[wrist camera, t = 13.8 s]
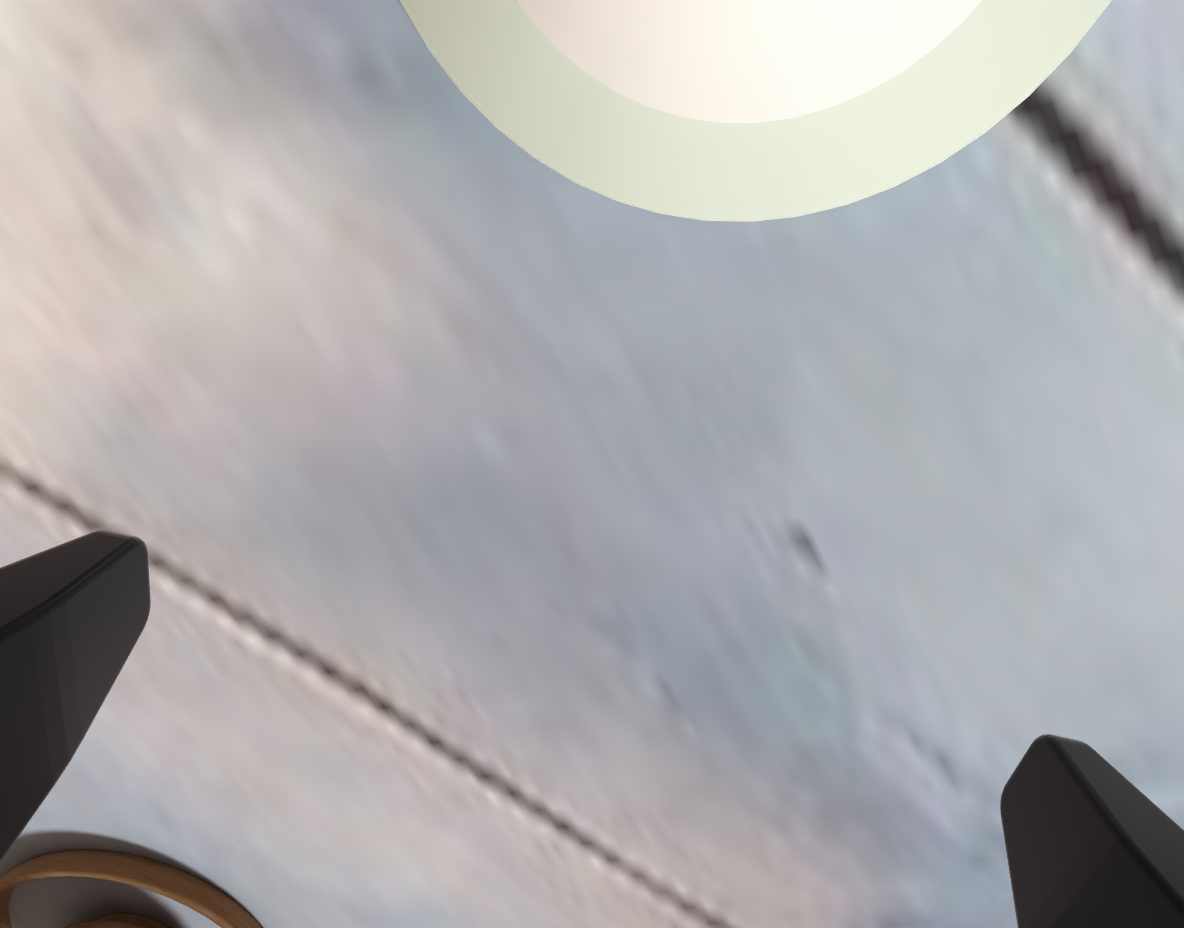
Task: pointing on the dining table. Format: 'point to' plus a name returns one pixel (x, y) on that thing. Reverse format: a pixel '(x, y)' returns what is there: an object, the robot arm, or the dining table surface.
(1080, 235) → the dining table surface
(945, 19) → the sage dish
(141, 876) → the place setting
